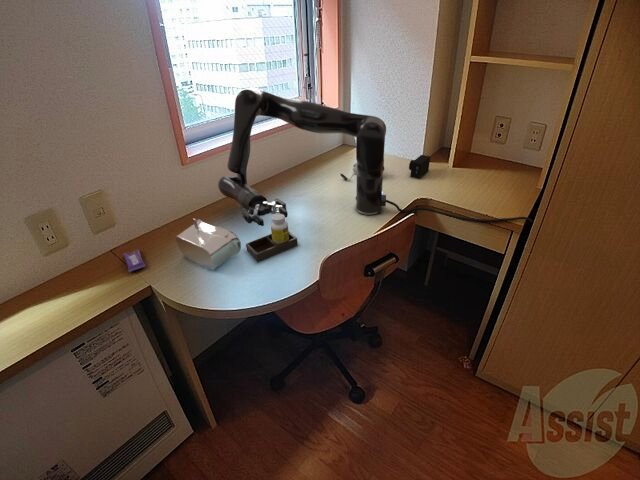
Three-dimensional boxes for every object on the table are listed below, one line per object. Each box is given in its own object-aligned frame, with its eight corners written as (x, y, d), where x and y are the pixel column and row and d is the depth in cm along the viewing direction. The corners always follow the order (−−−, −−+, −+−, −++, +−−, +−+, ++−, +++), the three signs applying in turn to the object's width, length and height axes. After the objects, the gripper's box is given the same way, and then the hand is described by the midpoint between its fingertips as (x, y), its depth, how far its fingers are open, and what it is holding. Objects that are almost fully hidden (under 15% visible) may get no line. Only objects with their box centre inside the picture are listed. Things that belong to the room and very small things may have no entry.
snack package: (145, 263, 108) (127, 269, 106) (147, 268, 109) (129, 274, 107) (137, 246, 116) (121, 251, 114) (139, 250, 117) (123, 256, 115)
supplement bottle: (286, 248, 114) (284, 221, 108) (270, 246, 115) (267, 220, 109) (291, 239, 118) (288, 213, 113) (275, 237, 119) (272, 212, 114)
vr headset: (244, 256, 112) (236, 216, 104) (216, 275, 105) (205, 234, 97) (206, 239, 121) (196, 201, 113) (177, 256, 114) (165, 216, 106)
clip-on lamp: (352, 191, 154) (386, 173, 158) (350, 179, 149) (385, 161, 154) (338, 179, 162) (370, 163, 166) (336, 167, 158) (369, 151, 162)
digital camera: (417, 168, 164) (418, 154, 160) (428, 171, 161) (430, 156, 158) (407, 176, 157) (409, 161, 153) (419, 179, 154) (421, 163, 151)
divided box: (297, 245, 116) (297, 238, 114) (257, 262, 109) (256, 254, 107) (285, 235, 121) (285, 228, 119) (246, 251, 114) (245, 243, 113)
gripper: (231, 197, 120) (253, 216, 108) (268, 185, 126) (292, 202, 115) (235, 216, 124) (256, 236, 112) (271, 204, 130) (294, 222, 119)
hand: (274, 219), depth 114 cm, fingers open, 8 cm apart
